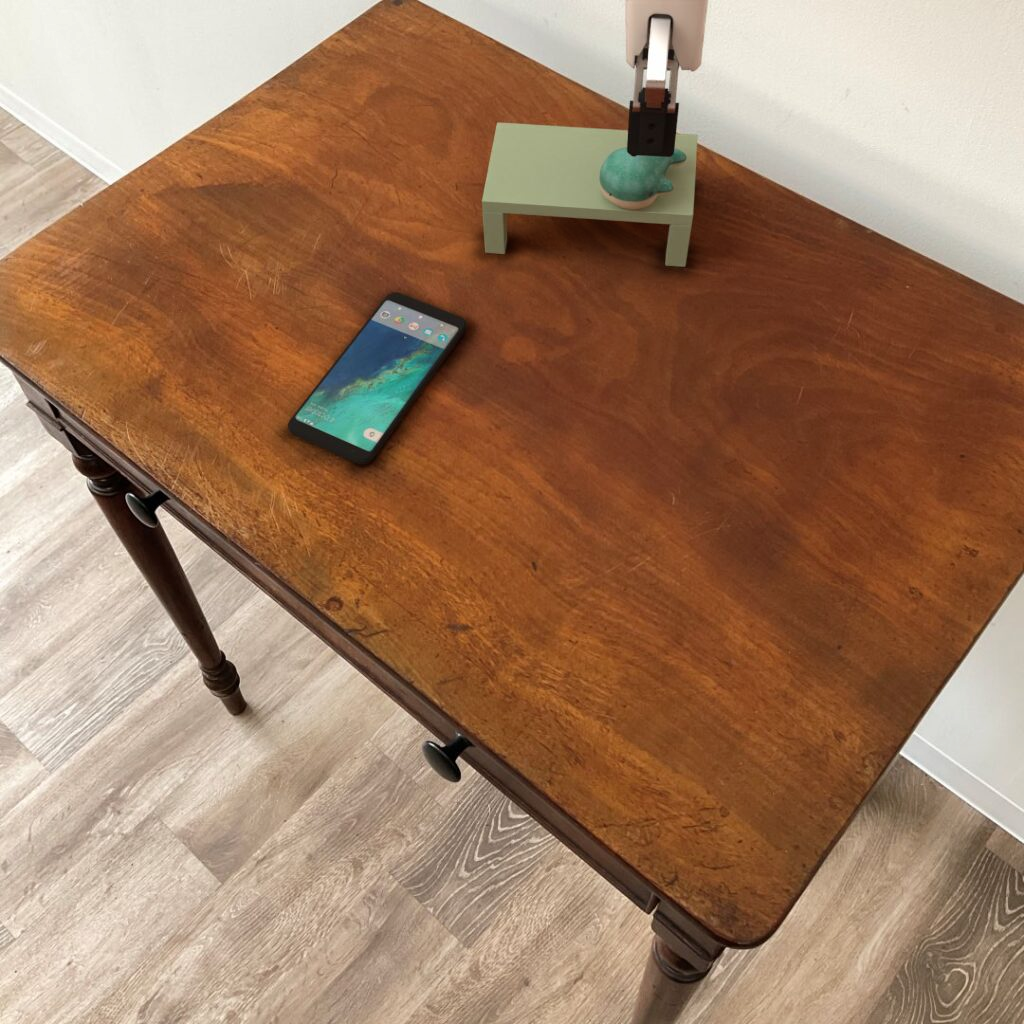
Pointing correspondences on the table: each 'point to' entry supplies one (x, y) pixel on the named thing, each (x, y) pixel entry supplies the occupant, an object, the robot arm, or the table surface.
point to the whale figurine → (636, 178)
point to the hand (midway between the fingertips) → (654, 106)
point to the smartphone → (377, 378)
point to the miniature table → (576, 182)
